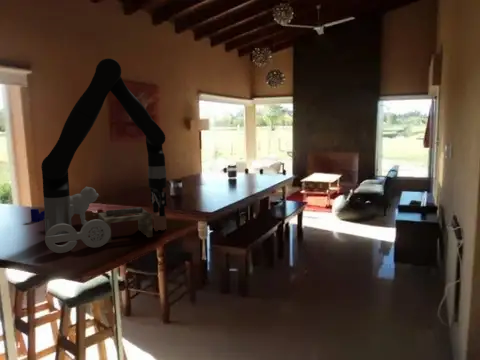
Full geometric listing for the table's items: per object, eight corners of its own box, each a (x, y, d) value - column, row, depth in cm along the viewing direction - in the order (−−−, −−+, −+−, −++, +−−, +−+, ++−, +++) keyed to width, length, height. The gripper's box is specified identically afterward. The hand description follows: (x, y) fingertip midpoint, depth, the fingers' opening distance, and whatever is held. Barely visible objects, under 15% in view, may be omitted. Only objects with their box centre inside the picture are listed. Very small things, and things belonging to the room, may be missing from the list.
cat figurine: (47, 231, 172) (44, 192, 169) (41, 227, 180) (38, 189, 178) (105, 223, 187) (103, 187, 185) (97, 219, 195) (95, 184, 193)
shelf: (106, 242, 154) (104, 214, 153) (99, 234, 167) (98, 208, 165) (152, 236, 163) (151, 209, 162) (143, 229, 175) (142, 204, 174)
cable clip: (44, 216, 202) (44, 204, 202) (53, 216, 202) (52, 204, 201) (28, 222, 191) (27, 209, 190) (37, 222, 190) (36, 209, 189)
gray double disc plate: (109, 243, 154) (108, 217, 153) (111, 245, 152) (110, 218, 151) (45, 253, 142) (44, 225, 141) (46, 255, 140) (45, 226, 139)
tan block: (155, 231, 172) (154, 215, 171) (151, 228, 177) (150, 213, 176) (166, 229, 174) (166, 214, 173) (162, 227, 179) (161, 212, 178)
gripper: (143, 175, 177) (145, 212, 179) (153, 179, 165) (155, 218, 167) (160, 174, 181) (162, 210, 183) (171, 177, 168) (172, 216, 170)
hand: (158, 214), depth 175 cm, fingers open, 8 cm apart
